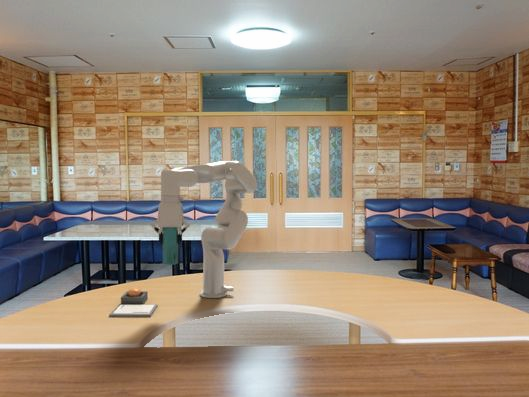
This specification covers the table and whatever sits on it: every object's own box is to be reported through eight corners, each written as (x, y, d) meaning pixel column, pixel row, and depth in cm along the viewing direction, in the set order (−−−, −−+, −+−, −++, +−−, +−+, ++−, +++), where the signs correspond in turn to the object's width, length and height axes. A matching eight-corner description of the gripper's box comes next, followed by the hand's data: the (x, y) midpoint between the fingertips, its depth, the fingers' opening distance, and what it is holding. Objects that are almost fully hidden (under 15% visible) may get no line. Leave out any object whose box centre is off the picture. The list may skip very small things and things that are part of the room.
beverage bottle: (174, 268, 174) (175, 219, 172) (159, 267, 175) (159, 218, 174) (181, 265, 180) (181, 217, 179) (166, 264, 181) (166, 216, 180)
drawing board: (157, 306, 182) (157, 303, 182) (150, 316, 169) (150, 314, 169) (119, 306, 181) (119, 303, 181) (109, 316, 168) (109, 314, 168)
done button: (141, 293, 189) (141, 288, 189) (139, 297, 184) (138, 291, 184) (130, 293, 189) (130, 288, 189) (127, 297, 184) (127, 291, 184)
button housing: (147, 299, 192) (147, 291, 191) (142, 305, 183) (142, 297, 182) (126, 299, 191) (126, 291, 191) (121, 305, 182) (120, 297, 182)
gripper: (193, 199, 180) (192, 242, 181) (150, 199, 179) (151, 241, 180) (190, 200, 172) (190, 245, 173) (146, 200, 171) (147, 245, 173)
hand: (170, 243), depth 177 cm, fingers closed on beverage bottle, 6 cm apart
